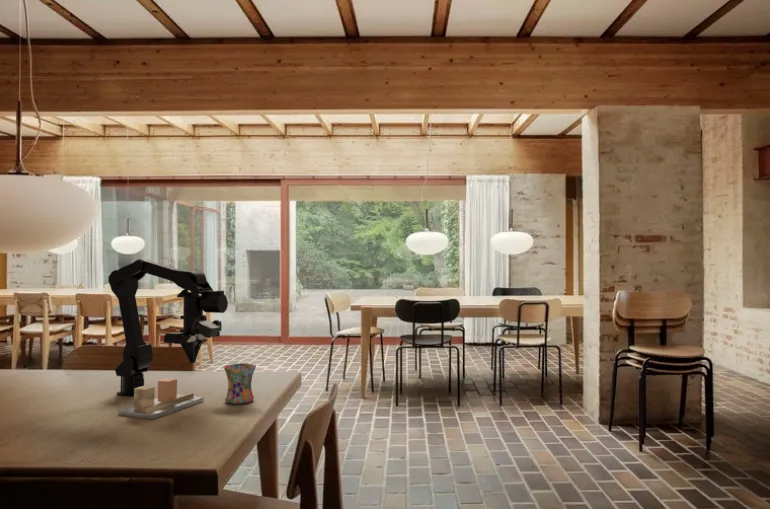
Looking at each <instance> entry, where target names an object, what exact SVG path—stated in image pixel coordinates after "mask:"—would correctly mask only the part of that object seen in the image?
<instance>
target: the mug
mask: <svg viewBox="0 0 770 509" xmlns="http://www.w3.org/2000/svg"><path fill="white" fill-rule="evenodd" d="M256 368H257V366H256V364H254V363H231V364H226V365H225V366H224V367H223V370H224V371H225V375H226V378H227V384H228V386H227V392H226V396H225V398H224V400H225V402H226V403H227V404H228V403H229V404H233V405H240V404H247V403H249V402H252V401H253V400H254V399H255V397H254V394H253V390H252V380H253V375H254V372H255V370H256Z"/></svg>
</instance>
